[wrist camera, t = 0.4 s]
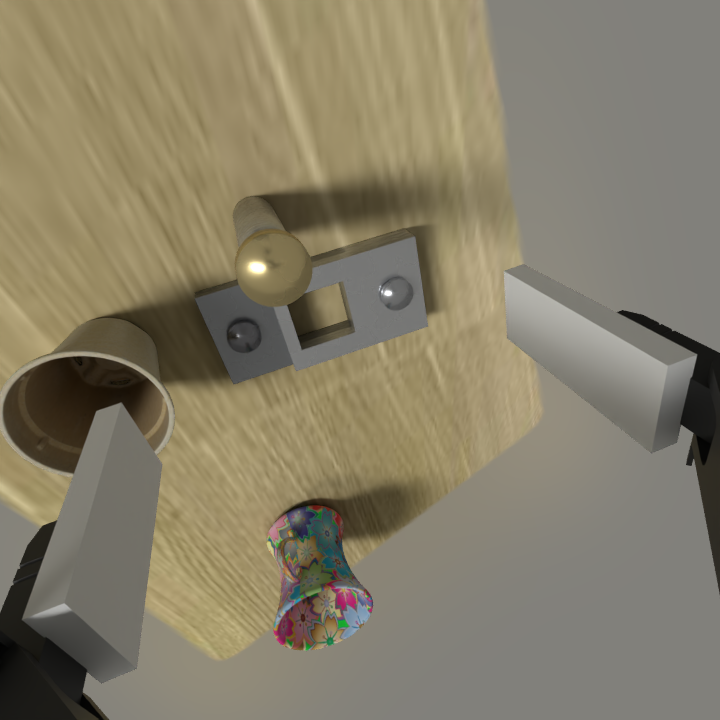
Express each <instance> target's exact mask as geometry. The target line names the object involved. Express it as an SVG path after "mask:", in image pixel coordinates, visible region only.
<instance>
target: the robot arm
mask: <svg viewBox="0 0 720 720" xmlns="http://www.w3.org/2000/svg"><path fill="white" fill-rule="evenodd" d="M504 283H505V304H506V325H507V339H509V340H510V341H511V342H512V343H514V344H515V345H516V346H518V347H519V348H520V349H521V350H523V351H524V352H525V353H526V354H528V355H529V356H530V357H531V358H533V359H534V360H535V361H536V362H538V363H539V364H540V365H541V366H543V367H544V368H545V369H546V370H548V371H549V372H550V373H551V374H553V375H554V376H555V377H556V378H558V379H559V380H560V381H561V382H563V383H564V384H565V385H566V386H568V387H569V388H570V389H572V390H573V391H574V392H575V393H576V394H578V395H579V396H580V397H581V398H583V399H584V400H585V401H586V402H588V403H589V404H590V405H592V406H593V407H594V408H595V409H597V410H598V411H599V412H600V413H601V414H603V415H604V416H605V417H607V418H608V419H609V420H610V421H612V422H613V423H614V424H615V425H616V426H618V427H619V428H620V429H621V430H623V431H624V432H625V433H626V434H628V435H629V436H630V437H631V438H633V439H634V440H635V441H637V442H638V443H639V444H640V445H642V446H643V447H644V448H645V449H646V450H648V451H649V452H650V453H653V452H656V451H658V450H660V449H663V448H665V447H668V446H670V445H672V444H675V443H677V440H678V436H679V431H680V427H681V425H683V426H684V427H686V428H687V429H689V430H690V431H692V432H693V433H694V434H693V438H692V442H691V446H690V450H689V454H688V458H687V463H686V465H689V466H691V465H692V462H693V459H694V460H695V465H696V470H697V476H698V481H699V486H700V491H701V497H702V502H703V508H704V513H705V518H706V524H707V529H708V534H709V540H710V544H711V550H712V555H713V561H714V566H715V571H716V576H717V582H718V587H719V592H720V353H719V352H717V351H715V350H712V349H711V348H709V347H707V346H705V345H703V344H701V343H699V342H697V341H695V340H692V339H690V338H688V337H686V336H684V335H682V334H680V333H678V332H676V331H672V329H670V328H668V327H666V326H664V325H662V324H661V325H659V323H658V322H656V321H654V320H652V319H650V318H648V317H646V316H644V315H641V314H637V313H633V312H628V311H624V310H622V311H619V312H614V311H613V310H611V309H609V308H607V307H605V306H603V305H601V304H599V303H597V302H596V301H594V300H592V299H590V298H588V297H586V296H584V295H582V294H580V293H578V292H576V291H574V290H573V289H571V288H569V287H567V286H565V285H563V284H561V283H559V282H557V281H555V280H553V279H551V278H549V277H548V276H546V275H544V274H542V273H540V272H538V271H536V270H534V269H532V268H530V267H528V266H527V265H525V264H523V265H520V266H517V267H514V268H511V269H508V270H505V271H504ZM161 470H162V463H161V461H160V460H159V458H158V457H157V455H156V454H155V452H154V451H153V449H152V448H151V446H150V445H149V443H148V442H147V440H146V439H145V437H144V436H143V434H142V433H141V431H140V430H139V428H138V427H137V425H136V424H135V422H134V421H133V419H132V418H131V416H130V415H129V413H128V412H127V410H126V409H125V407H124V406H123V404H122V403H119V404H116V405H113V406H110V407H107V408H104V409H101V410H98V411H96V414H95V416H94V419H93V422H92V425H91V428H90V430H89V433H88V436H87V439H86V441H85V444H84V447H83V450H82V453H81V455H80V458H79V461H78V464H77V467H76V469H75V472H74V475H73V478H72V481H71V483H70V486H69V489H68V492H67V495H66V497H65V500H64V503H63V506H62V509H61V511H60V514H59V517H58V520H57V521H54V522H51V523H49V524H46V525H43V526H42V527H41V529H40V530H39V531H38V532H37V534H36V535H35V536H34V538H33V539H32V540H31V542H30V543H29V544H28V546H27V548H26V550H25V553H24V556H23V558H22V560H21V563H20V569H18V570H17V573H16V575H15V578H14V580H13V583H14V585H12V586H11V588H10V590H9V593H8V595H7V598H6V600H5V602H4V605H3V607H2V610H1V612H0V720H109V719H108V718H107V717H106V716H105V714H104V713H103V712H102V711H101V710H100V709H99V707H98V706H97V705H96V704H95V703H94V702H93V700H92V699H91V698H90V697H88V696H87V695H86V694H84V693H83V687H84V682H85V677H86V673H87V672H88V673H89V674H90V675H91V676H93V677H94V678H95V679H96V680H98V681H99V682H100V683H104V682H106V681H108V680H111V679H113V678H116V677H118V676H120V675H123V674H125V673H128V672H130V671H132V670H135V669H136V668H137V662H138V654H139V646H140V638H141V630H142V622H143V614H144V606H145V598H146V590H147V582H148V574H149V566H150V558H151V550H152V542H153V534H154V526H155V518H156V510H157V502H158V494H159V486H160V478H161Z"/></svg>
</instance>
